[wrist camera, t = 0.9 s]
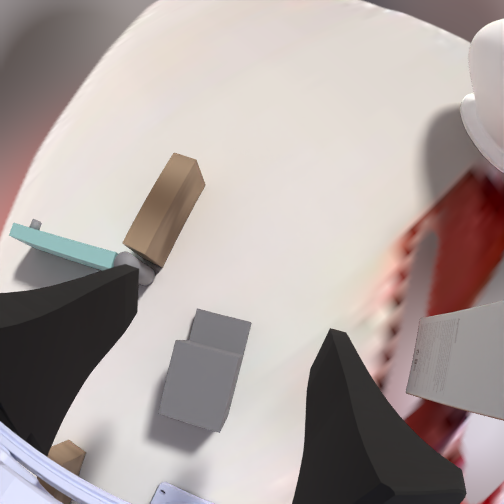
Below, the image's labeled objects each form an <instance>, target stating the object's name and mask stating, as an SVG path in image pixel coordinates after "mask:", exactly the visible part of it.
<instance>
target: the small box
mask: <svg viewBox="0 0 504 504" xmlns="http://www.w3.org/2000/svg"><path fill="white" fill-rule="evenodd" d="M406 393H407V394H410V395H413V396H416V397H419V398H423V399H426V400H430V401H434V402H437V403H440V404H443V405H447V406H450V407H453V408H457V409H461V410H464V411H468V412H472V413H476V414H480V415H484V416H488V417H492V418H496V419H500V420H503V421H504V300H502V301H498V302H494V303H490V304H485V305H481V306H477V307H473V308H469V309H465V310H460V311H456V312H451V313H446V314H441V315H435V316H429V317H424V318H420V321H419V328H418V334H417V339H416V346H415V351H414V356H413V361H412V366H411V371H410V376H409V380H408V385H407V389H406Z"/></svg>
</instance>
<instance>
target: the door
mask: <svg viewBox="0 0 504 504" xmlns="http://www.w3.org/2000/svg"><path fill="white" fill-rule="evenodd" d="M41 224H42V223H41V222H39V221H37V220H35V219H33V220H32V222H31V225H30V228H29V227H26V226H23V225H19V224H16V223H13V226H12V229H11V231H10V234H9V236H11V237H13V238H15V239H17V240H19V241H21V242H23V243H25V244H27V245H29V246H31V247H33V248H36V249H39V250H41V251H44V252H47V253H50V254H53V255H56V256H59V257H62V258H65V259H68V260H71V261H74V262H77V263H80V264H83V265H86V266H89V267H93V268H96V269H99V270H102V271H103V270H106V269H109V268H112V267H116V266H119V265H123V264H127V265H130V266H133V267H136V268H139V283H138V284H140V285H143V286H147V285H149V284H151V283H152V282H153V280H154V277H155V274H154V271H153V269H152V268H151V267H149V266H148V265H146V264H145V263H143V262H142V261H141V260H139V259H138V258H136V257H135V256H133V255H132V254H131V253H129V252H121V253H119V254H118V253H116V252H113V251H109V250H106V249H102V248H98V247H95V246H91V245H88V244H84V243H81V242H77V241H74V240H70V239H67V238H63V237H60V236H56V235H53V234H49V233H46V232H43V231H39V229H40V227H41Z"/></svg>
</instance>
